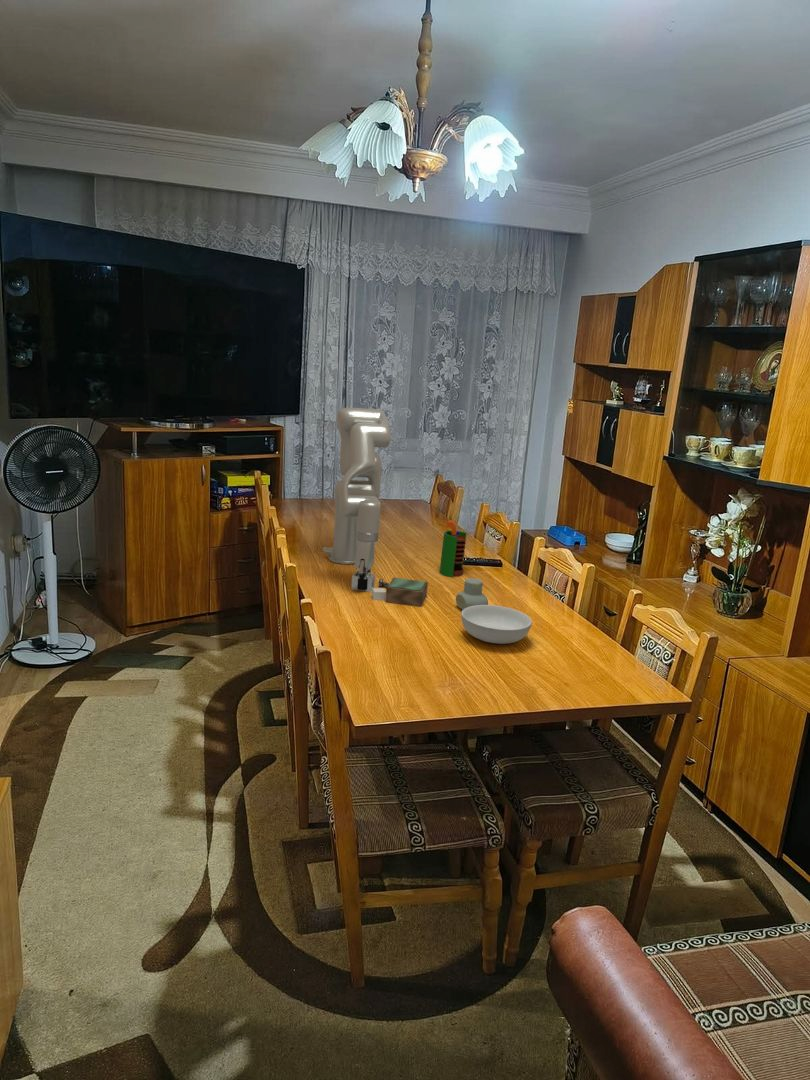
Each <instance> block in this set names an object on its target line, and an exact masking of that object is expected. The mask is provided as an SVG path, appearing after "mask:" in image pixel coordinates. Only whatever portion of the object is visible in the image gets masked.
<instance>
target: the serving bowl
mask: <svg viewBox="0 0 810 1080" xmlns="http://www.w3.org/2000/svg"><path fill="white" fill-rule="evenodd" d="M460 614H461V615H460V617H461V622H462V626H463V627H464V630H466V632H467V633H468V634H470V635H471V636H472V637H473V638H476V639H478V640H480V641H483V642H486V643H491V644H502V645H505V644H512V643H516V642H518V641H521V640H522V639H523V638H525V637H526V636H527V635H528V633H529V632H530V630H531V628H532V622H533V620H532V619H531V617H530V616H528V615H527V614H526V613H524V612H521V611H519V610H518V609H514V608H511V607H506V606H500V605H494V604H488V605H475V606H470V607H467V608H465V609H464V610H461V613H460Z"/></svg>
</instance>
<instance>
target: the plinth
mask: <svg viewBox="0 0 810 1080" xmlns="http://www.w3.org/2000/svg"><path fill="white" fill-rule="evenodd" d="M389 583H390V584H389V585H388V587H386V590H385V591H386V600H385V603H388V604H390V603H391V604H396V605H397V604H398V605H403V606H404V605H405V606H412V607H419V608H422V607H423V604H424V602H425V601H426V598H427V596H428V587H429V586H428V585H429V582H428V581H424V580H415V579H408V578H402V577H401V578H399V577H393V578H392V579H391V581H390V582H389Z"/></svg>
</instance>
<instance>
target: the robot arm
mask: <svg viewBox="0 0 810 1080" xmlns="http://www.w3.org/2000/svg"><path fill="white" fill-rule="evenodd" d="M336 424H337V429H338V433H339V436H340V450H339V454H340V455H339V472H340V474H341V475H342V476H343V477H342V479H341V480H339V481H337V482H336V483H335V485H334V488H333V494H334V506H335V507H334V510H335V511H334V528H333V529H334V530H333V546H331V547H328V546H323V547H322V552H323V553H324V554H329V555H328V560H329V561H330V562H332V563H336V564H341V565H352V564H354V570H355V571H359V574H358V585H357V589H358V590H357V591H359V590H367V579H366V578H367V571H369V572H371V573H372V567H373V566H374V562H375V553H376V543H378V542H379V533H380V519H381V517H380V516H381V501H380V494H381V483H382V467H383V465H382V458H381V457H380V455H379V454H378V453H376V452H375V449H376V448H380V449H381V448H382V449H383V448H385V449H386V448H388V447H389V446H390V444H391V440H392V432H391V426H390V424H389V421H388V418H387V416H386V413H385V412H384V411H383V410H381V409H379V408H378V409H376V408H365V407H343V408H340V409H339V410H338V411H337V415H336ZM354 478H367V480H365V479H364V480H363V479H362V480H361V479H360V480H358V479H354ZM363 572H365V574H364V573H363Z"/></svg>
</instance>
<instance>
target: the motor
mask: <svg viewBox="0 0 810 1080" xmlns="http://www.w3.org/2000/svg"><path fill="white" fill-rule="evenodd" d="M446 528H451V530H445V531H444V532H443V538H442V548H441V557H440V565H439V574H440V575H442V576H445V577H449V578H454V577H462V576H463V575H464V567H463V565H464V559H465V552H466V551H465V550H466V541H467V534H468V533H467V532H465V531H460V530H457V524H456V522H454V520H453V521H452V520H448V521H446Z"/></svg>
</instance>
